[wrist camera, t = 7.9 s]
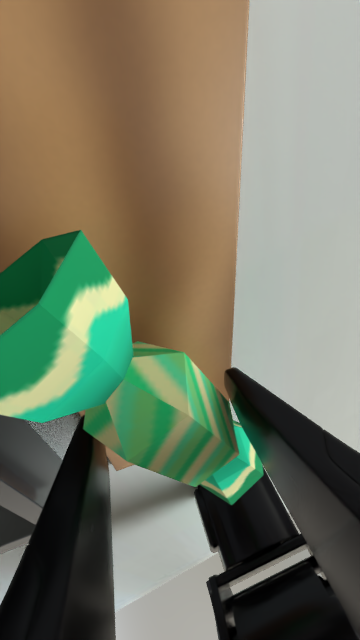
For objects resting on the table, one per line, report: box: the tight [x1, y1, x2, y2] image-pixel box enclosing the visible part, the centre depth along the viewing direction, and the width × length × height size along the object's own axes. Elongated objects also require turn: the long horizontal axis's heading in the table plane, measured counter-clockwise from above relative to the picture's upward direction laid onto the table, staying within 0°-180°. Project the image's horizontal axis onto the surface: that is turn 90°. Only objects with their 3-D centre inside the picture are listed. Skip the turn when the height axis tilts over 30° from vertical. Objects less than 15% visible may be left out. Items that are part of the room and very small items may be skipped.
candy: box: [0, 230, 264, 505], centre depth 8 cm, size 12×3×4 cm
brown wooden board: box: [0, 0, 249, 471], centre depth 11 cm, size 8×20×1 cm, turn 6°
